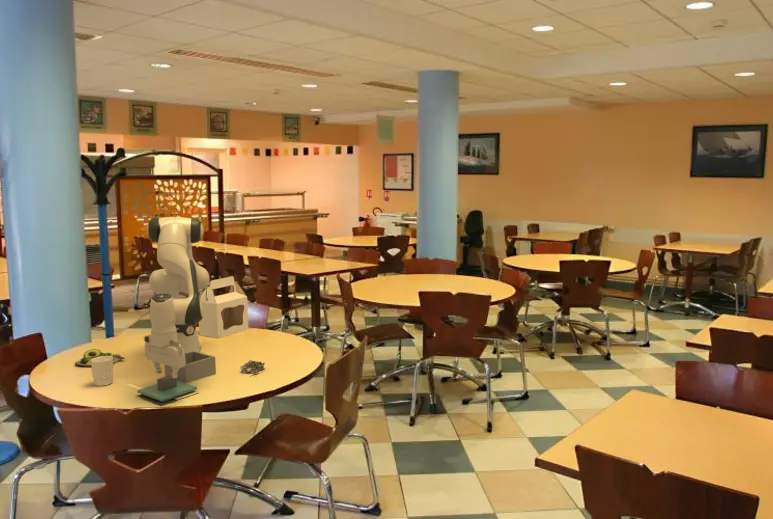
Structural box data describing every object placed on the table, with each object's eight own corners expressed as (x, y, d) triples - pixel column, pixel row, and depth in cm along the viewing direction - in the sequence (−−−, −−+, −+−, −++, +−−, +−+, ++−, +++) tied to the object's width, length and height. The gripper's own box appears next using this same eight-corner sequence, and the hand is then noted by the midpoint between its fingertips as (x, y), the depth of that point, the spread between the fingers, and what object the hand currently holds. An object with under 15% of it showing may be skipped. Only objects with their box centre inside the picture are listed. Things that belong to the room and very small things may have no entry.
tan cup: (96, 380, 256) (94, 356, 254) (117, 380, 256) (115, 355, 255) (89, 387, 248) (87, 362, 246) (110, 386, 249) (109, 361, 247)
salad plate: (133, 356, 290) (133, 346, 289) (113, 369, 272) (112, 358, 271) (92, 356, 292) (92, 346, 291) (69, 368, 274) (69, 357, 273)
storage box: (165, 378, 258) (164, 358, 257) (194, 369, 269) (193, 350, 268) (186, 385, 249) (185, 364, 248) (216, 375, 260) (215, 356, 259)
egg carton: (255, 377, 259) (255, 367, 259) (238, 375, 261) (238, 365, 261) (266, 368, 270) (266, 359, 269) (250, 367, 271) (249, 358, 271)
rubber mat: (135, 396, 237) (135, 395, 237) (173, 385, 249) (173, 384, 249) (161, 406, 227) (161, 404, 227) (199, 393, 240) (199, 392, 240)
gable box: (230, 326, 344) (228, 274, 340) (249, 329, 337) (246, 276, 334) (198, 335, 325) (195, 280, 321) (217, 338, 318) (215, 282, 315)
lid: (137, 395, 237) (136, 379, 236) (173, 384, 249) (172, 369, 248) (161, 404, 228) (160, 387, 227) (197, 392, 240) (196, 376, 239)
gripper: (188, 341, 232) (190, 378, 234) (156, 332, 244) (158, 368, 246) (173, 345, 227) (175, 383, 229) (140, 336, 239) (143, 372, 241)
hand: (166, 375), depth 238 cm, fingers open, 8 cm apart
